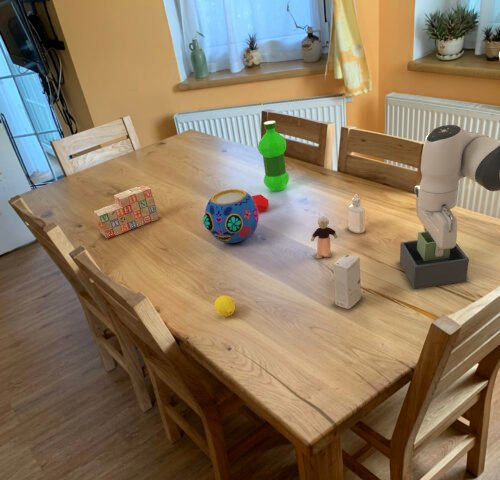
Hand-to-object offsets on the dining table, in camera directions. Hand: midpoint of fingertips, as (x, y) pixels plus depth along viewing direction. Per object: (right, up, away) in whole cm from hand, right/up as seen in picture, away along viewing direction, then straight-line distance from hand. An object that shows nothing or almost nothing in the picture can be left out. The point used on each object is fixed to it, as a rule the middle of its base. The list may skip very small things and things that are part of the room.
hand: (433, 247), depth 129 cm
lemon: (-54, -17, +3) cm, 57 cm away
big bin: (+1, -6, +5) cm, 7 cm away
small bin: (0, -1, +1) cm, 2 cm away
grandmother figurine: (-25, +1, +20) cm, 32 cm away
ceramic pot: (-52, +9, +37) cm, 65 cm away
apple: (-44, +22, +52) cm, 72 cm away
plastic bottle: (-37, +34, +65) cm, 83 cm away
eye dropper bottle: (-14, +11, +29) cm, 34 cm away
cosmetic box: (-22, -14, 0) cm, 26 cm away
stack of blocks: (-93, +18, +58) cm, 111 cm away
